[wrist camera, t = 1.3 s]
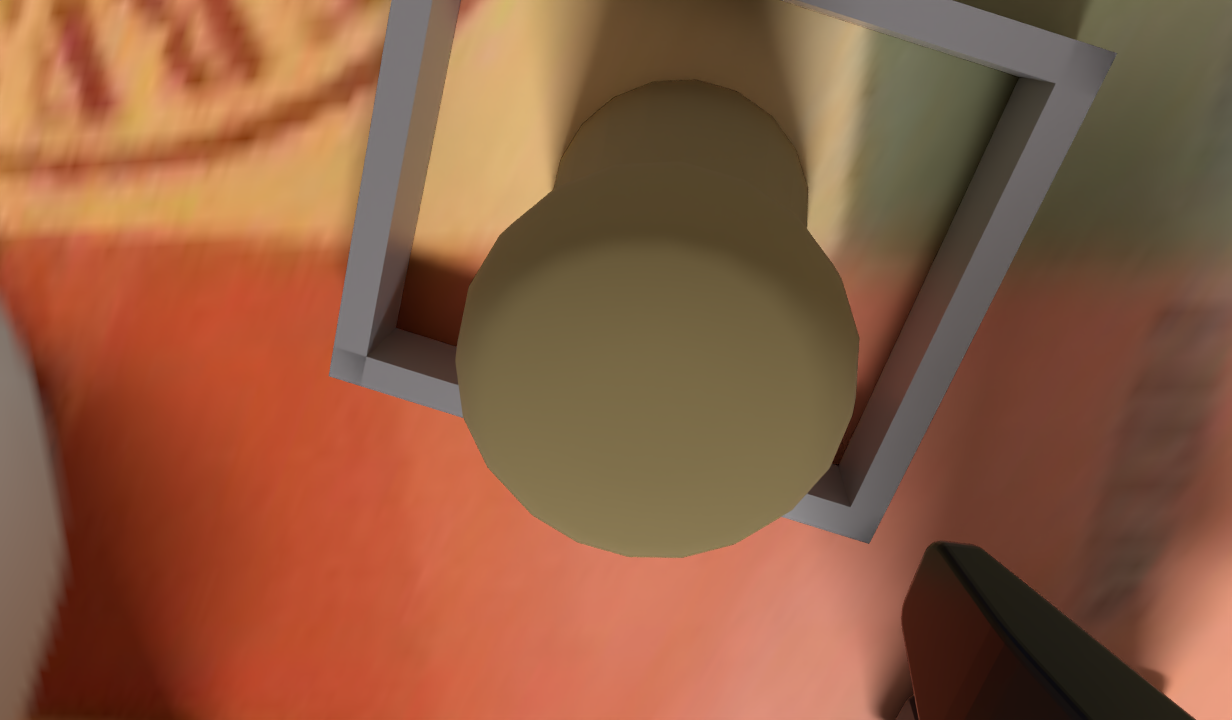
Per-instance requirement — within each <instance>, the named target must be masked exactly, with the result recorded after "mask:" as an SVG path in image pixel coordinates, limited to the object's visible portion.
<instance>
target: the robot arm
mask: <svg viewBox="0 0 1232 720" xmlns="http://www.w3.org/2000/svg"><path fill="white" fill-rule="evenodd" d="M901 619H902V630H903V636H904V641H905V647H906V652H907V658H908V663H909V669H910V674H911V680H912V685H913V691H914V694H913V695H912V696H911V697H909V698H908V699H907V700H906V702H905V704H904V705H903V707H902V709H901V710H900V712H899V714H898V716H897V717H896V719H895V720H1196V719H1195V718H1193V717H1192V716H1191V715H1190V714H1188V713H1187V712H1186V711H1185V710H1183V709H1182V708H1181V707H1179V706H1178V705H1177V704H1176V703H1174V702H1173V701H1172V700H1171V699H1169V698H1168V697H1167V696H1166V695H1164V694H1163V693H1162V692H1161V691H1159V690H1158V689H1157V688H1156V687H1154V686H1153V685H1152V684H1151V683H1149V682H1148V681H1147V680H1146V679H1144V678H1143V677H1142V676H1141V675H1139V674H1138V673H1137V672H1136V671H1134V670H1133V669H1132V668H1131V667H1129V666H1128V665H1127V664H1126V663H1124V662H1123V661H1122V660H1121V659H1119V658H1118V657H1117V656H1116V655H1114V654H1113V653H1112V652H1111V651H1109V650H1108V649H1107V648H1106V647H1104V646H1103V645H1102V644H1101V643H1099V642H1098V641H1097V640H1096V639H1094V638H1093V637H1092V636H1091V635H1089V634H1088V633H1087V632H1086V631H1084V630H1083V629H1082V628H1081V627H1079V626H1078V625H1077V624H1076V623H1074V622H1073V621H1072V620H1071V619H1069V618H1068V617H1067V616H1066V615H1064V614H1063V613H1062V612H1061V611H1059V610H1058V609H1057V608H1056V607H1054V606H1053V605H1052V604H1051V603H1049V602H1048V601H1047V600H1046V599H1044V598H1043V597H1042V596H1041V595H1039V594H1038V593H1037V592H1036V591H1034V590H1033V589H1032V588H1031V587H1029V586H1028V585H1027V584H1026V583H1024V582H1023V581H1022V580H1021V579H1019V578H1018V577H1017V576H1016V575H1014V574H1013V573H1012V572H1010V571H1009V570H1008V569H1007V568H1005V567H1004V566H1003V565H1002V564H1000V563H999V562H998V561H997V560H995V559H994V558H993V557H992V556H990V555H989V554H988V553H987V552H985V551H984V550H983V549H981V548H980V547H978V546H976V545H973V544H966V543H957V542H948V541H937V542H934V543H932V544H931V545H930V546H929V547H928V548H927V549H926V551H925V553H924V555H923V557H922V560H921V562H920V564H919V567H918V569H917V571H916V574H915V576H914V578H913V581H912V583H911V585H910V588H909V590H908V593H907V595H906V597H905V600H904V603H903V607H902V616H901Z"/></svg>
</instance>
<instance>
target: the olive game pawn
mask: <svg viewBox="0 0 1232 720" xmlns="http://www.w3.org/2000/svg"><path fill="white" fill-rule="evenodd" d="M807 204H808V188H807V185H806V181H805V178H804V175H803V171H802V168H801V165H800V161H799V158H798V155H797V151H796V149H795V148H794V146H793V145H792V144H791V142H790V141H789V139H788V138H787V137H786V135H785V134H784V132H783V131H782V130H781V128H780V127H779V126H778V124H777V123H776V121H775V120H774V119H773V117H772V116H771V115H770V114H768V113H767V112H765V111H764V110H763V109H761V108H760V107H758V106H757V105H755V104H754V103H753V102H751V101H750V100H748V99H747V98H745V97H744V96H743V95H741V94H740V93H738V92H737V91H734V90H730V89H727V88H723V87H720V86H716V85H713V84H709V83H706V82H702V81H699V80H679V81H659V82H651V83H649V84H646V85H644V86H641V87H639V88H636V89H634V90H631V91H629V92H626V93H624V94H621V95H619V96H616V97H614V98H613V99H611V100H610V101H609V102H608V103H607V104H606V105H604V106H603V107H602V108H601V109H600V110H598V111H597V112H596V113H595V114H594V115H593V116H591V117H590V118H589V119H588V120H587V121H586V122H584V123H583V124H582V125H581V127H580V129H579V130H578V132H577V133H576V135H575V137H574V138H573V140H572V142H571V143H570V145H569V147H568V148H567V150H566V152H565V153H564V155H563V156H562V158H561V160H560V165H559V169H558V173H557V177H556V182H555V186H554V190H552V191H551V192H550V193H549V194H548V195H546V196H545V197H544V198H543V199H542V200H540V201H539V202H538V203H537V204H536V205H534V206H533V207H532V208H531V209H530V210H528V211H527V212H526V213H525V214H523V215H522V216H521V217H520V218H519V219H517V220H516V221H515V222H514V223H513V224H511V225H510V226H509V227H508V228H507V229H506V230H505V231H504V232H503V233H502V234H501V235H500V236H499V237H498V239H497V241H496V242H495V244H494V246H493V247H492V249H491V251H490V252H489V254H488V256H487V257H486V259H485V261H484V262H483V264H482V266H481V267H480V269H479V271H478V272H477V274H476V276H475V277H474V279H473V281H472V282H471V284H470V286H469V288H468V293H467V298H466V303H465V308H464V313H463V317H462V322H461V327H460V332H459V337H458V342H457V350H456V359H455V363H456V370H457V378H458V385H459V392H460V400H461V407H462V414H463V418H464V420H465V422H466V424H467V426H468V428H469V430H470V432H471V434H472V437H473V439H474V441H475V443H476V445H477V447H478V449H479V451H480V453H481V455H482V457H483V459H484V461H485V463H486V465H487V467H488V468H489V469H490V470H491V472H492V473H493V474H494V475H495V476H496V477H497V478H498V479H499V480H500V481H501V482H502V483H503V484H504V485H505V487H506V488H507V489H508V490H509V491H510V492H511V493H512V494H513V495H514V496H515V497H516V498H517V499H518V501H519V502H520V503H521V504H522V505H523V506H524V507H525V508H526V509H527V510H528V511H529V512H530V513H531V514H532V515H533V516H534V517H536V518H538V519H539V520H541V521H543V522H544V523H546V524H548V525H549V526H551V527H553V528H554V529H556V530H558V531H559V532H561V533H563V534H564V535H566V536H568V537H569V538H571V539H573V540H574V541H576V542H578V543H581V544H585V545H588V546H592V547H595V548H599V549H602V550H606V551H610V552H613V553H617V554H620V555H624V556H627V557H665V558H683V557H687V556H691V555H695V554H699V553H703V552H707V551H710V550H714V549H718V548H722V547H726V546H730V545H734V544H736V543H737V542H739V541H741V540H743V539H745V538H746V537H748V536H750V535H751V534H753V533H755V532H756V531H758V530H760V529H761V528H763V527H765V526H767V525H768V524H770V523H772V522H773V521H775V520H777V519H778V518H780V517H782V516H783V515H785V514H787V513H788V512H790V511H792V510H793V509H794V507H795V506H796V505H797V504H798V503H799V502H800V501H801V500H802V498H803V497H804V496H805V495H806V494H807V493H808V492H809V491H810V490H811V488H812V487H813V486H814V485H815V484H816V483H817V482H818V481H819V479H820V478H821V477H822V476H823V475H824V474H825V473H826V472H827V471H828V469H829V468H830V466H831V464H832V462H833V459H834V457H835V455H836V452H837V450H838V448H839V445H840V443H841V441H842V438H843V436H844V434H845V431H846V429H847V426H848V424H849V422H850V419H851V417H852V415H853V410H854V405H855V400H856V387H857V370H858V353H859V335H858V332H857V329H856V325H855V322H854V319H853V315H852V312H851V308H850V305H849V302H848V298H847V295H846V292H845V288H844V285H843V282H842V278H841V277H840V275H839V273H838V272H837V270H836V268H835V267H834V265H833V264H832V262H831V261H830V260H829V258H828V257H827V256H826V254H825V253H824V251H823V250H822V249H821V247H820V246H819V245H818V243H817V242H816V241H815V239H814V238H813V237H812V235H811V234H810V232H809V231H808V230H807Z"/></svg>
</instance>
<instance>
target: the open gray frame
mask: <svg viewBox="0 0 1232 720" xmlns="http://www.w3.org/2000/svg"><path fill="white" fill-rule="evenodd" d="M781 1H784V2H787V3H790V4H794V5H797V6H800V7H803V8H806V9H809V10H812V11H815V12H818V13H822V14H825V15H828V16H831V17H834V18H837V19H840V20H843V21H847V22H850V23H853V24H856V25H859V26H862V27H865V28H868V29H871V30H875V31H878V32H881V33H884V34H887V35H890V36H893V37H896V38H900V39H903V40H906V41H909V42H912V43H915V44H918V45H921V46H924V47H928V48H931V49H934V50H937V51H940V52H943V53H946V54H949V55H953V56H956V57H959V58H962V59H965V60H968V61H971V62H974V63H978V64H981V65H984V66H987V67H990V68H993V69H996V70H999V71H1002V72H1006V73H1009V74H1012V75H1015V76H1018V77H1019V79H1018V81H1017V83H1016V86H1015V88H1014V90H1013V92H1012V94H1011V96H1010V98H1009V101H1008V103H1007V105H1006V107H1005V109H1004V111H1003V114H1002V116H1001V118H1000V120H999V122H998V124H997V126H996V129H995V131H994V133H993V135H992V137H991V139H990V141H989V144H988V146H987V148H986V150H985V152H984V154H983V156H982V159H981V161H980V163H979V165H978V167H977V169H976V171H975V174H974V176H973V178H972V180H971V182H970V184H969V187H968V189H967V191H966V193H965V195H964V197H963V199H962V202H961V204H960V206H959V208H958V210H957V212H956V214H955V217H954V219H953V221H952V223H951V225H950V227H949V229H948V232H947V234H946V236H945V238H944V240H943V242H942V244H941V247H940V249H939V251H938V253H937V255H936V257H935V260H934V262H933V264H932V266H931V268H930V270H929V272H928V275H927V277H926V279H925V281H924V283H923V285H922V287H921V290H920V292H919V294H918V296H917V298H916V300H915V302H914V305H913V307H912V309H911V311H910V313H909V315H908V317H907V320H906V322H905V324H904V326H903V328H902V330H901V333H900V335H899V337H898V339H897V341H896V343H895V345H894V348H893V350H892V352H891V354H890V356H889V358H888V360H887V363H886V365H885V367H884V369H883V371H882V373H881V375H880V378H879V380H878V382H877V384H876V386H875V388H874V390H873V393H872V395H871V397H870V399H869V401H868V403H867V406H866V408H865V410H864V412H863V414H862V416H861V418H860V421H859V423H858V425H857V427H856V429H855V431H854V433H853V436H852V438H851V440H850V442H849V444H848V446H847V448H846V451H845V453H844V455H843V457H842V459H841V461H840V463H839V466H838V465H834V464H831V466H830V468H829V469H828V471H827V472H826V473H825V474H824V475H823V476H822V477H821V478H820V479H819V481H818V482H817V483H816V484H815V485H814V486H813V487H812V488H811V490H810V491H809V492H808V493H807V494H806V495H805V496H804V497H803V498H802V500H801V501H800V502H799V503H798V504H797V505H796V506H795V507H794V509H793V510H792V511H790V512H788V513H787V514H785V515H783V516H782V517H784V518H787V519H791V520H794V521H797V522H800V523H804V524H807V525H810V526H813V527H816V528H820V529H823V530H826V531H829V532H833V533H836V534H839V535H842V536H845V537H849V538H852V539H855V540H858V541H862V542H865V543H868V544H869V543H870V541H871V539H872V537H873V535H874V533H875V531H876V529H877V527H878V525H879V523H880V521H881V519H882V518H883V516H884V514H885V512H886V510H887V508H888V506H889V504H890V502H891V500H892V498H893V496H894V494H895V492H896V490H897V488H898V486H899V484H900V482H901V480H902V478H903V476H904V474H905V472H906V470H907V468H908V466H909V464H910V462H911V460H912V458H913V456H914V454H915V452H916V450H917V448H918V446H919V444H920V442H921V440H922V438H923V436H924V434H925V432H926V430H927V429H928V427H929V425H930V423H931V421H932V419H933V417H934V415H935V413H936V411H937V409H938V407H939V405H940V403H941V401H942V399H943V397H944V395H945V393H946V391H947V389H948V387H949V385H950V383H951V381H952V379H953V377H954V375H955V373H956V371H957V369H958V367H959V365H960V363H961V361H962V359H963V357H964V355H965V353H966V351H967V349H968V347H969V345H970V343H971V342H972V340H973V338H974V336H975V334H976V332H977V330H978V328H979V326H980V324H981V322H982V320H983V318H984V316H985V314H986V312H987V310H988V308H989V306H990V304H991V302H992V300H993V298H994V296H995V294H996V292H997V290H998V288H999V286H1000V284H1001V282H1002V280H1003V278H1004V276H1005V274H1006V272H1007V270H1008V268H1009V266H1010V264H1011V262H1012V260H1013V258H1014V256H1015V255H1016V253H1017V251H1018V249H1019V247H1020V245H1021V243H1022V241H1023V239H1024V237H1025V235H1026V233H1027V231H1028V229H1029V227H1030V225H1031V223H1032V221H1033V219H1034V217H1035V215H1036V213H1037V211H1038V209H1039V207H1040V205H1041V203H1042V201H1043V199H1044V197H1045V195H1046V193H1047V191H1048V189H1049V187H1050V185H1051V183H1052V181H1053V179H1054V177H1055V175H1056V173H1057V171H1058V169H1059V167H1060V166H1061V164H1062V162H1063V160H1064V158H1065V156H1066V154H1067V152H1068V150H1069V148H1070V146H1071V144H1072V142H1073V140H1074V138H1075V136H1076V134H1077V132H1078V130H1079V128H1080V126H1081V124H1082V122H1083V120H1084V118H1085V116H1086V114H1087V112H1088V110H1089V108H1090V106H1091V104H1092V102H1093V100H1094V98H1095V96H1096V94H1097V92H1098V90H1099V88H1100V86H1101V84H1102V82H1103V80H1104V79H1105V77H1106V75H1107V73H1108V71H1109V69H1110V67H1111V65H1112V63H1113V61H1114V59H1115V57H1116V55H1117V53H1115V52H1112V51H1109V50H1106V49H1102V48H1099V47H1096V46H1093V45H1090V44H1087V43H1084V42H1081V41H1078V40H1074V39H1071V38H1068V37H1065V36H1062V35H1059V34H1056V33H1053V32H1050V31H1047V30H1043V29H1040V28H1037V27H1034V26H1031V25H1028V24H1025V23H1022V22H1019V21H1015V20H1012V19H1009V18H1006V17H1003V16H1000V15H997V14H994V13H991V12H987V11H984V10H981V9H978V8H975V7H972V6H969V5H966V4H963V3H960V2H956V1H953V0H781ZM460 2H461V0H392V1H391V7H390V13H389V19H388V25H387V31H386V37H385V43H384V49H383V55H382V61H381V67H380V73H379V79H378V85H377V91H376V97H375V103H374V109H373V115H372V121H371V127H370V133H369V139H368V145H367V151H366V157H365V163H364V169H363V175H362V181H361V187H360V192H359V198H358V204H357V210H356V216H355V222H354V228H353V234H352V240H351V246H350V252H349V258H348V264H347V270H346V276H345V282H344V288H343V294H342V300H341V306H340V312H339V318H338V324H337V330H336V336H335V342H334V348H333V354H332V360H331V366H330V372H329V376H330V377H333V378H336V379H340V380H343V381H346V382H349V383H353V384H356V385H359V386H362V387H365V388H369V389H372V390H375V391H378V392H382V393H385V394H388V395H391V396H394V397H398V398H401V399H404V400H407V401H411V402H414V403H417V404H420V405H423V406H427V407H430V408H433V409H436V410H440V411H443V412H446V413H449V414H452V415H456V416H459V417H462V418H463V414H462V407H461V400H460V392H459V385H458V378H457V370H456V363H455V359H456V350H457V347H456V346H453V345H450V344H446V343H443V342H440V341H437V340H434V339H430V338H427V337H424V336H421V335H417V334H414V333H411V332H408V331H405V330H401V329H398V328H396V325H397V320H398V315H399V310H400V305H401V300H402V295H403V289H404V284H405V279H406V274H407V269H408V264H409V259H410V254H411V249H412V244H413V239H414V234H415V229H416V224H417V219H418V214H419V209H420V204H421V199H422V194H423V189H424V184H425V178H426V173H427V168H428V163H429V158H430V153H431V148H432V143H433V138H434V133H435V128H436V123H437V118H438V113H439V108H440V103H441V98H442V93H443V88H444V83H445V78H446V73H447V67H448V62H449V57H450V52H451V47H452V42H453V37H454V32H455V27H456V22H457V17H458V12H459V7H460Z"/></svg>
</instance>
